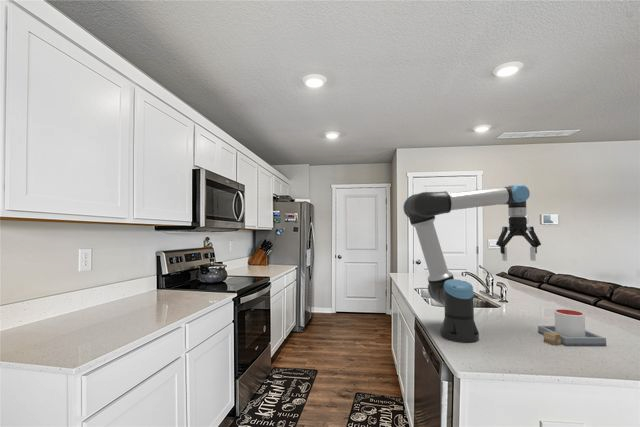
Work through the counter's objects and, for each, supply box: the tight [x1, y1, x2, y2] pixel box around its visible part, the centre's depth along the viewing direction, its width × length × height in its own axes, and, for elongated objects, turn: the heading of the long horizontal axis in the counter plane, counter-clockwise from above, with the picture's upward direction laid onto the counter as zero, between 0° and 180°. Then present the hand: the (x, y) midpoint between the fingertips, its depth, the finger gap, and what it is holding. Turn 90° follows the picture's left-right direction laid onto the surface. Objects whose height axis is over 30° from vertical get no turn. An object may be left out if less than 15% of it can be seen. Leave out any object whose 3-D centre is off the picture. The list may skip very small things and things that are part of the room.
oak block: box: [543, 331, 562, 346], centre depth 129 cm, size 4×4×4 cm
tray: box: [537, 325, 607, 347], centre depth 134 cm, size 16×16×3 cm
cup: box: [554, 308, 586, 337], centre depth 134 cm, size 10×10×10 cm
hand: (518, 260), depth 154 cm, fingers open, 13 cm apart
